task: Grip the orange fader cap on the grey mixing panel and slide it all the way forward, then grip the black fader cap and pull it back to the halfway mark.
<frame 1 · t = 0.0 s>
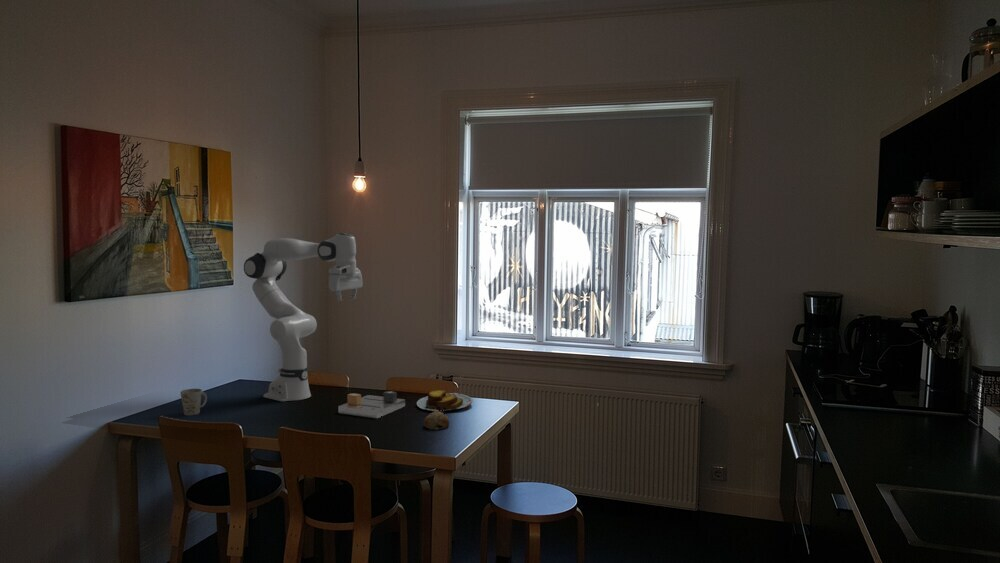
hand: (346, 299, 299), 48 cm above the table, tool pointing down, fingers open, 8 cm apart
orange fader: (354, 399, 291), point 5 cm above the table, slide at 0.0 cm
food on plate: (444, 406, 300), on the table
bread roll: (436, 426, 269), on the table
black fader: (390, 396, 295), point 5 cm above the table, slide at 12.0 cm
mixing panel: (372, 409, 294), on the table
mug: (195, 412, 288), on the table
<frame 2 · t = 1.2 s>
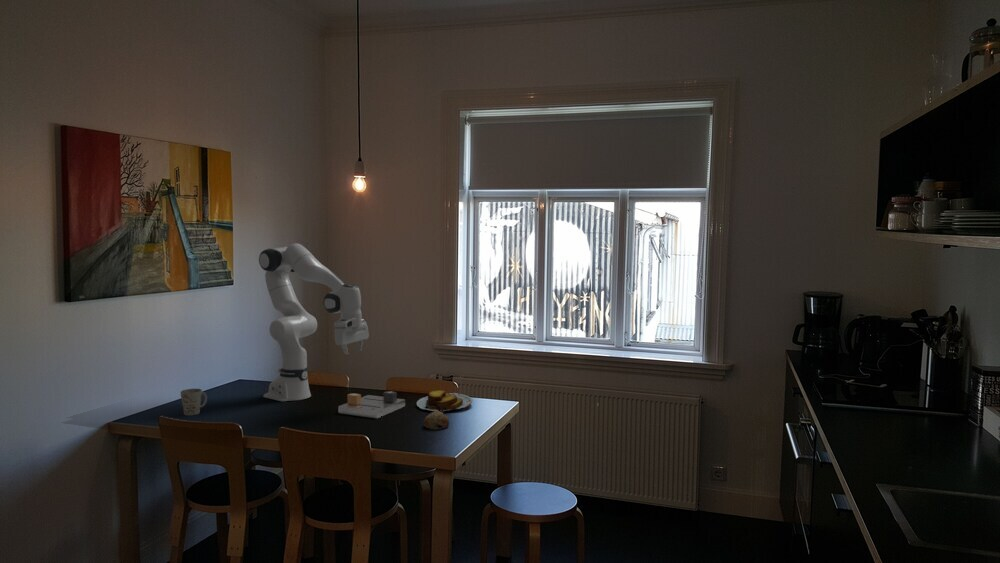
hand: (353, 352, 292), 26 cm above the table, tool pointing down, fingers open, 8 cm apart
nothing on the table moved.
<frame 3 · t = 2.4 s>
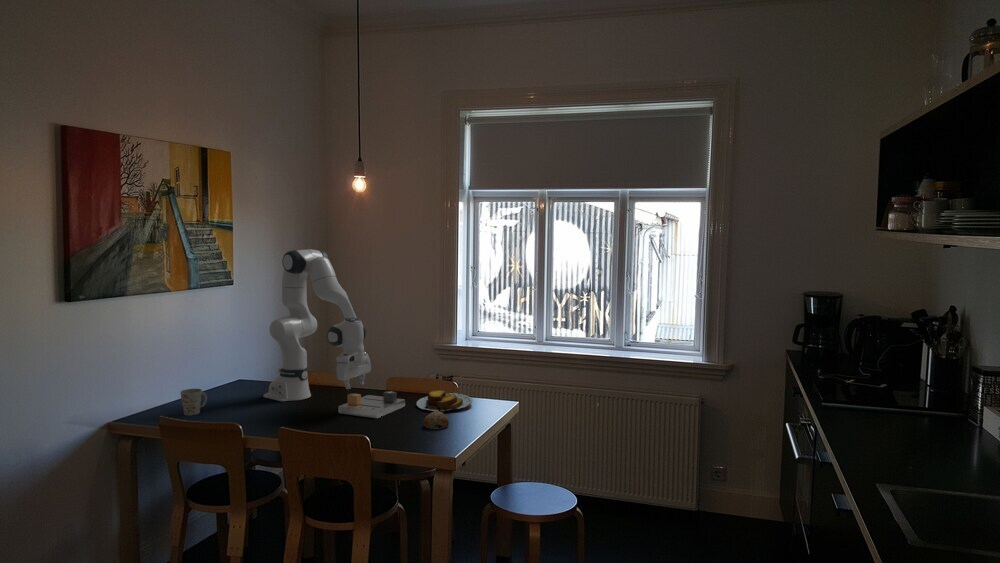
hand: (355, 386, 291), 11 cm above the table, tool pointing down, fingers open, 8 cm apart
nothing on the table moved.
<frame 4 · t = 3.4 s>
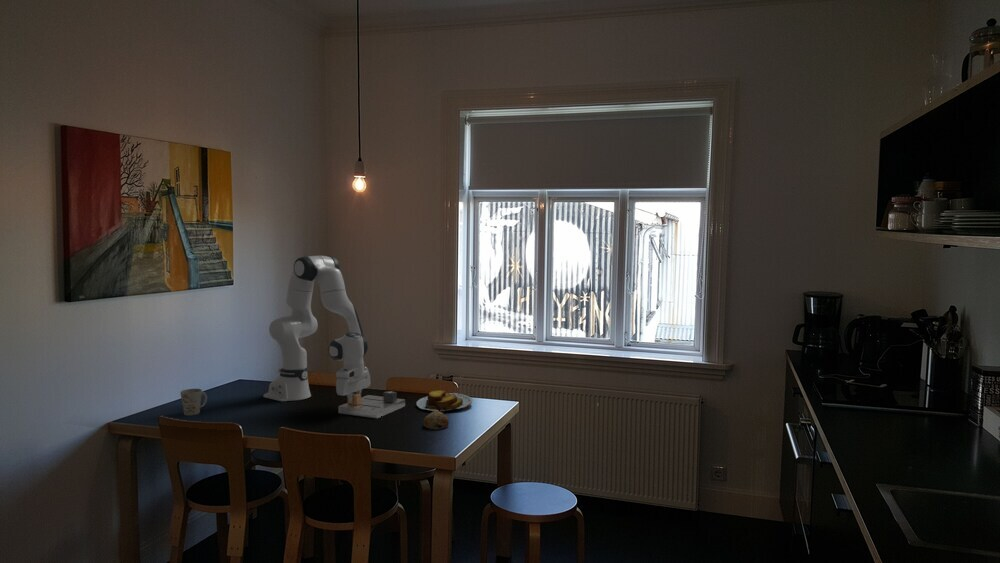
hand: (354, 401, 291), 4 cm above the table, tool pointing down, fingers closed on orange fader, 3 cm apart
orange fader: (354, 399, 291), point 5 cm above the table, slide at 0.0 cm, touching gripper
everything else where it was.
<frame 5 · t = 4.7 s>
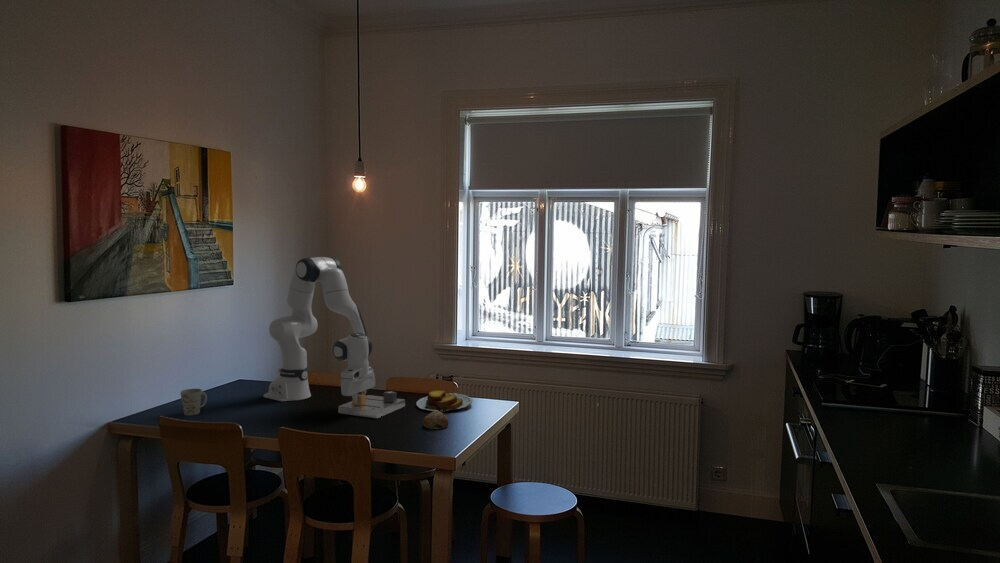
hand: (359, 401, 290), 4 cm above the table, tool pointing down, fingers closed on orange fader, 3 cm apart
orange fader: (359, 399, 290), point 5 cm above the table, slide at 2.6 cm, touching gripper
everything else where it was.
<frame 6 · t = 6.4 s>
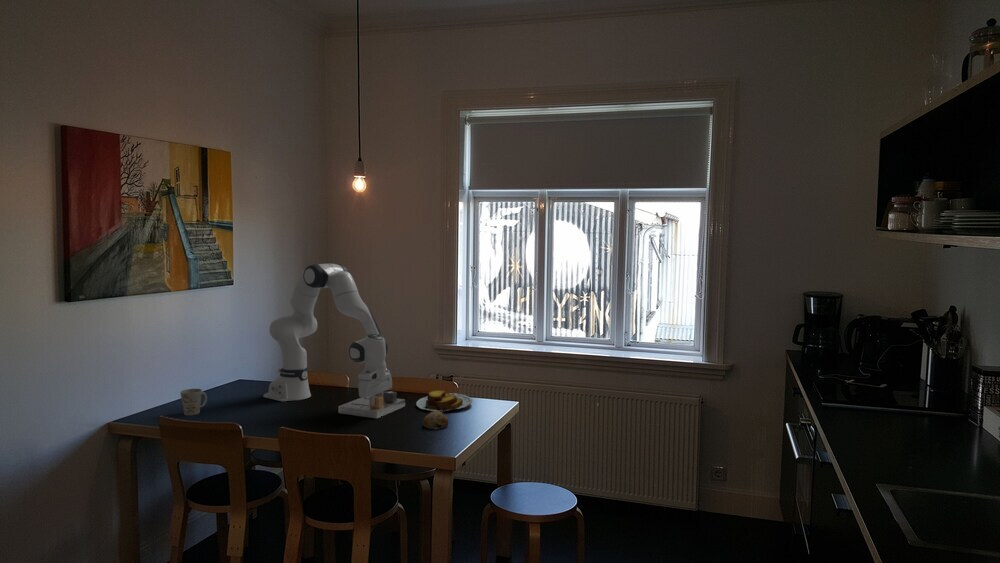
hand: (376, 403, 287), 4 cm above the table, tool pointing down, fingers closed on orange fader, 3 cm apart
orange fader: (376, 401, 287), point 5 cm above the table, slide at 11.6 cm, touching gripper
everything else where it was.
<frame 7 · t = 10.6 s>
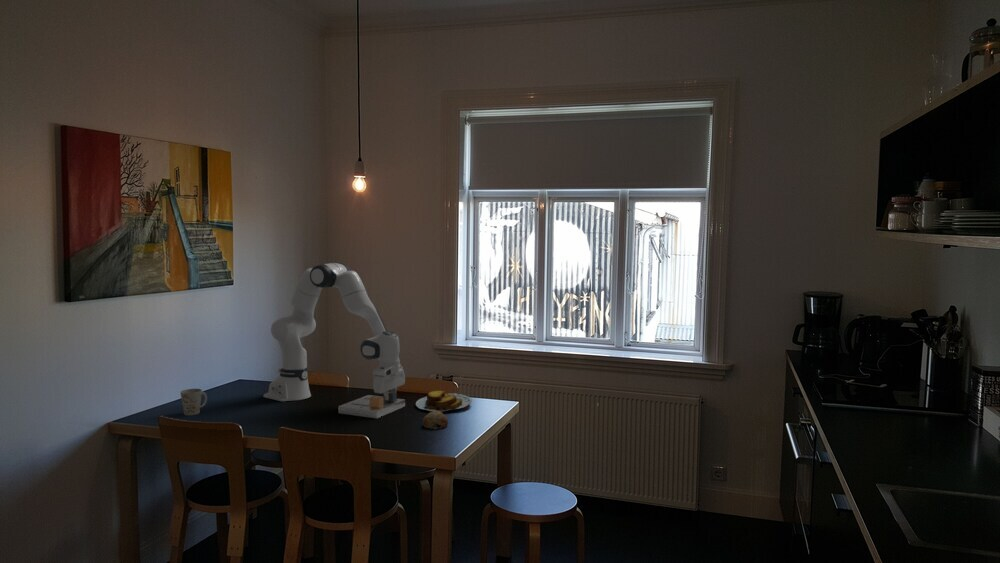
hand: (390, 398, 296), 4 cm above the table, tool pointing down, fingers closed on black fader, 3 cm apart
orange fader: (376, 401, 287), point 5 cm above the table, slide at 11.6 cm
black fader: (390, 396, 295), point 5 cm above the table, slide at 12.0 cm, touching gripper
everything else where it was.
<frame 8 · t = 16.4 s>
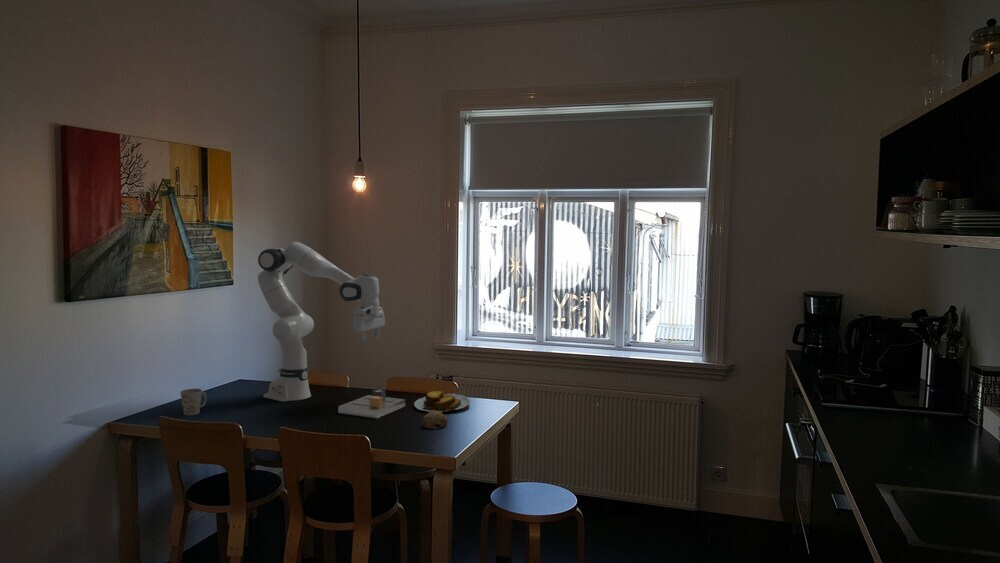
hand: (370, 338, 307), 29 cm above the table, tool pointing down, fingers open, 8 cm apart
food on plate: (442, 407, 299), on the table
black fader: (378, 395, 298), point 5 cm above the table, slide at 5.9 cm
at the end: orange fader slide at 11.6 cm; black fader slide at 5.9 cm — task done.
